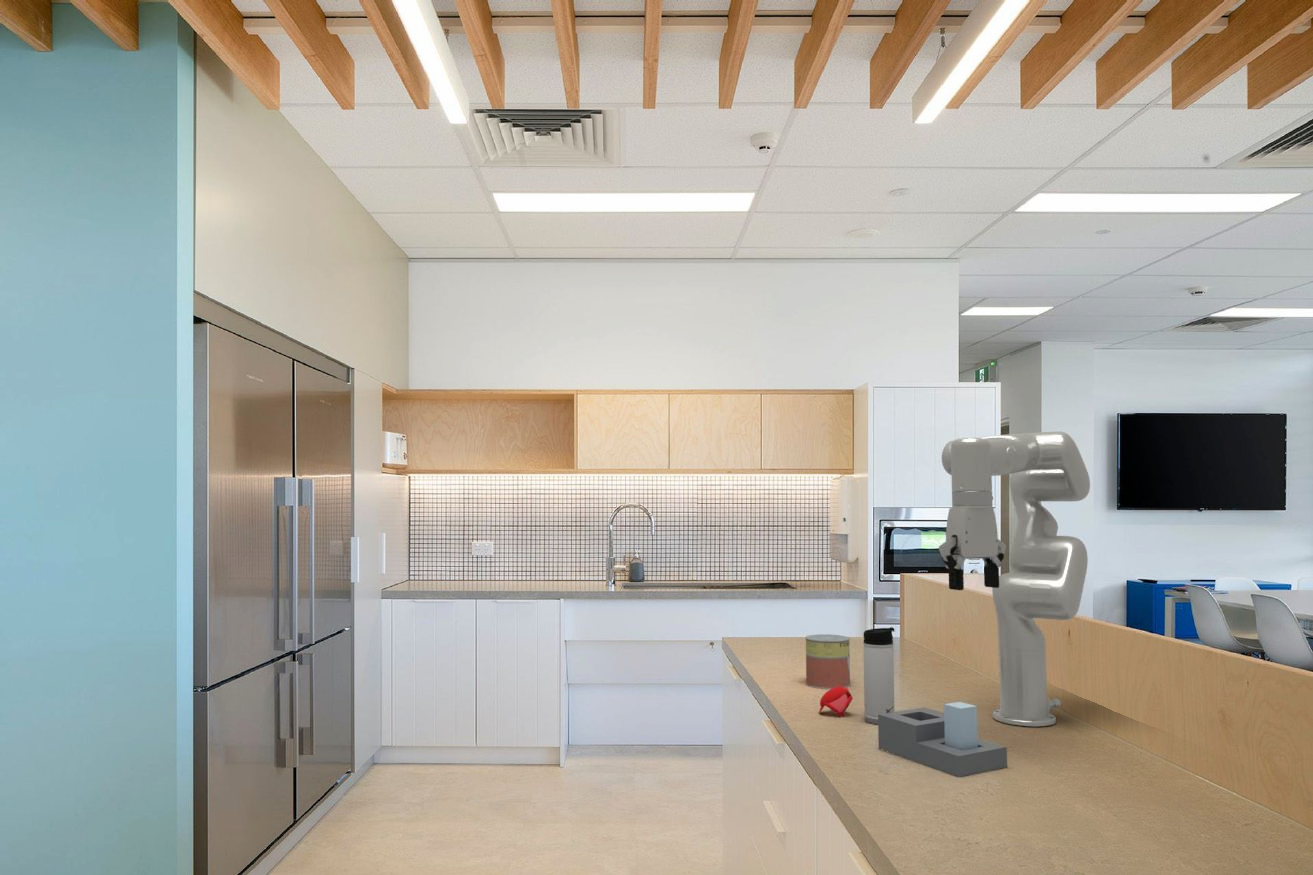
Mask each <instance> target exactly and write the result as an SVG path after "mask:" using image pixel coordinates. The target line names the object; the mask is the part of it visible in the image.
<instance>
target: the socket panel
mask: <svg viewBox="0 0 1313 875" xmlns="http://www.w3.org/2000/svg"><path fill="white" fill-rule="evenodd" d="M877 727H878V728H877V731H878V732H877V733H878V734H877V736H878V749H879V750H881V749H883V750H885V751H884V752H886V751H888V752H887V753H889V752H890V753H889V754H892V753H894V754H893V755H895V754H896V755H895V756H898V755H900V756H899V757H901V756H902V757H901V758H903V757H904V759H906V758H907V760H910V761H912V760H913V761H912V762H916V763H918V764H921V765H923V764H924V765H923V766H926V767H929V768H933V769H935V770H937V771H941V772H943V773H946V774H949V775H952V776H954V777H955V776H956V777H958V778H961V777H965V776H969V775H975V774H979V773H986V772H989V771H995V770H1000V769H1004V768H1005V769H1006V768H1008V747H1007V746H1005V745H1001V744H999V743H994V742H990V741H987V740H984V739H981V738H978V748H972V749H967V750H959V749H956V748H953V747H950V746H946V745H945V726H944V712H942V711H939V710H935V709H931V708H927V707H918V708H912V709H906V710H905V709H903V710H897V711H894V712H890V713H883V714H878V725H877ZM883 750H882V751H883Z"/></svg>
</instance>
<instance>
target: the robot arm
mask: <svg viewBox="0 0 1313 875" xmlns="http://www.w3.org/2000/svg"><path fill="white" fill-rule="evenodd" d="M941 463H942V467H943V470H945V472H946V473H947V474H948V475H950V476H951V505H952V506H951V507H949V510H948V514H947V519H946V529H945V532H946V533H945V541H944V542H943V543H942V544H940V545H939V546H938V551H939V553H940V555H941V560H942V561H943V562H944V564H945V568H946V569H948V588H949V590H955V591H963V590H965V589H964V588H965V586H964V584H965V583H964V581H965V580H964V569H963V568H962V566H963V564H964V563H965V561H966V560H976V559H977V560H978V559H979V560H980V559H982V560H983V562H984V563H985V565H986V566H983V582H984V583H983V584H984V587H986V588H992V598H993V599H992V600H993V604H994V608H995V614H996V621H997V634H998V671H999V672H998V677H999V708H998V709H996V710H993V712H992V718H993V719H994V720H996V721H998V722H1000V723H1004V724H1008V725H1013V726H1021V727H1022V726H1023V727H1048V726H1052V725H1055V723H1056V722H1057V720H1056V719H1057V718H1056V716H1055V715H1054V714H1053V713H1051V710H1053V709H1058V708H1060V707H1061V704H1062V702H1061V700H1060V699H1059V698H1052V699H1050V698H1049V697H1048V680H1047V679H1048V678H1047V677H1048V676H1047V647H1046V638H1045V634H1044V633H1043V631H1042V630H1041V627H1040V626H1039V625H1038V623H1037V622H1036V621H1035V620H1034V619H1042V620H1053V621H1054V620H1055V621H1056V620H1057V621H1066V620H1067V621H1068V620H1071V619H1074V618H1075V617H1076V615H1078V614H1077V613H1078V612H1079V608H1080V604H1081V600H1082V596H1083V590H1084V585H1085V581H1086V576H1087V570H1088V563H1089V562H1088V561H1089V559H1088V552H1087V548H1086V546H1085V543H1084V542H1083V541H1082V540H1081V539H1080V538H1078V537H1075V536H1070V535H1058V531H1059V526H1058V525H1059V524H1058V522H1057V520H1056V518H1055V517H1054V516H1053V514H1052V513H1051V512H1050V511H1049V510H1048V509H1047V508H1046V507H1044V506H1043V505H1042V503H1041V502H1079V501H1083V500H1084V499H1086V497H1088V495H1089V493H1090V491H1091V490H1090V489H1091V481H1090V475H1089V472H1088V469H1087V467H1086V465H1085V462H1084V460H1083V457H1082V455H1081V452H1080V450H1079V448H1078V446H1077V444H1076V442H1075V440H1074V439H1073V438H1072V437H1071V436H1070V435H1069V434H1068V433H1066V432H1064V431H1045V432H1044V431H1041V432H1019V433H1010V434H1009V433H1008V434H999V435H992V436H991V435H990V436H985V437H965V438H964V437H962V438H957V439H954V440H950V441H948V442H947V443H946V444H945V446H944V447H943V449H942V452H941ZM1009 474H1011V475H1010V477H1009V478H1010V479H1009V487H1010V488H1009V489H1010V493H1011V494H1010V495H1011V498H1012V499H1011V500H1012V502H1013V506H1014V509H1015V512H1016V513H1015V514H1016V515H1017V526H1016V531H1015V535H1014V538H1013V541H1012V545H1011V550H1010V553H1009V566H1010V568H1011V570H1012V571H1013V572H1005V573H1002V574H1001V575H1000V568H1001V567H1002V561H1003V560H1004V558H1005V556H1004V555H1005V552H1006V549H1007V545H1006V543H1005V542H1003V541H1002V540H1000V539H999V536H998V525H997V518H996V513H995V508H994V507H993V506H994V505H993V500H994V497H993V483H992V482H993V481H992V480H993V478H992V477H993V476H994V477H995V476H996V477H998V476H1005V475H1009Z"/></svg>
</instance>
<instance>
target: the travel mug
mask: <svg viewBox="0 0 1313 875" xmlns="http://www.w3.org/2000/svg"><path fill="white" fill-rule="evenodd" d="M893 632H896V631H895V628H894V627H892V626H891V627H879V628H878V627H877V628H870V629H866V630H864V632H863V642H862V644H863V690H864V691H863V694H864V696H863V698H864V699H863V700H864V701H863V702H864V703H863V704H864V705H863V706H864V721H865V723H868V724H870V723H871V724H872V725H877V726H878V714H883V713H890V712H895V678H894V676H895V672H894V670H895V669H894V668H895V667H894V664H895V663H894V641H893V639H894V637H893Z"/></svg>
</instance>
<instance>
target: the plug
mask: <svg viewBox="0 0 1313 875" xmlns="http://www.w3.org/2000/svg"><path fill="white" fill-rule="evenodd" d="M943 711H944V712H943V713H944V726H945V745H946V746H950V747H953V748H956V749H959V750H967V749H972V748H978V739H979V734H978V730H979V729H978V706H977V705H973V704H970V703H967V702H962V701H956V702H955V701H954V702H950V703H944V704H943Z"/></svg>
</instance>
